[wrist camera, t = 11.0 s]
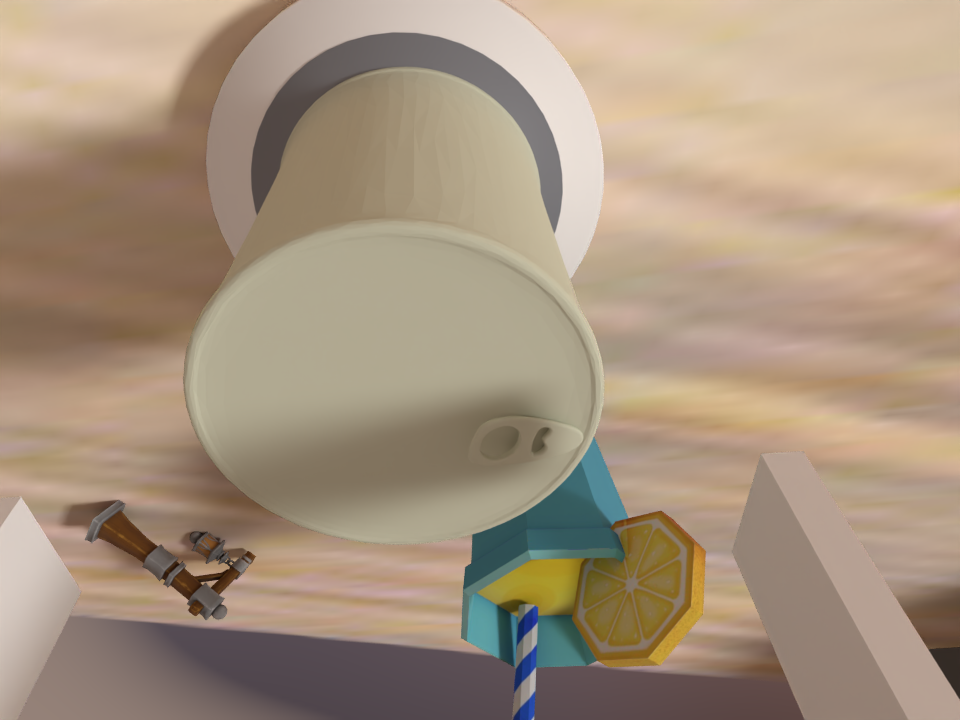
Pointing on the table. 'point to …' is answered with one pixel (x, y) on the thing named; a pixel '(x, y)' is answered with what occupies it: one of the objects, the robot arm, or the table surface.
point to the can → (398, 324)
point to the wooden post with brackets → (172, 560)
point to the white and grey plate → (404, 43)
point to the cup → (581, 583)
